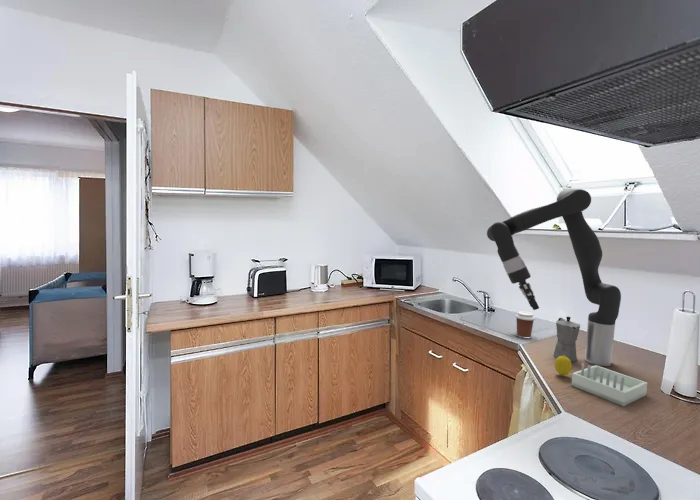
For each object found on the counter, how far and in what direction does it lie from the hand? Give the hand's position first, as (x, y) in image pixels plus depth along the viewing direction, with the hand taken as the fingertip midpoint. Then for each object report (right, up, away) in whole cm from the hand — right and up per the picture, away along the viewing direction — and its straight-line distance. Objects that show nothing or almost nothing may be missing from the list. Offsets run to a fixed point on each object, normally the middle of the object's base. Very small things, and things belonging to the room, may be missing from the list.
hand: (535, 307), depth 138 cm
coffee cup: (+16, -22, +43) cm, 51 cm away
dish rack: (+18, -26, -14) cm, 35 cm away
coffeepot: (+21, -24, +17) cm, 36 cm away
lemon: (+8, -25, -3) cm, 27 cm away
